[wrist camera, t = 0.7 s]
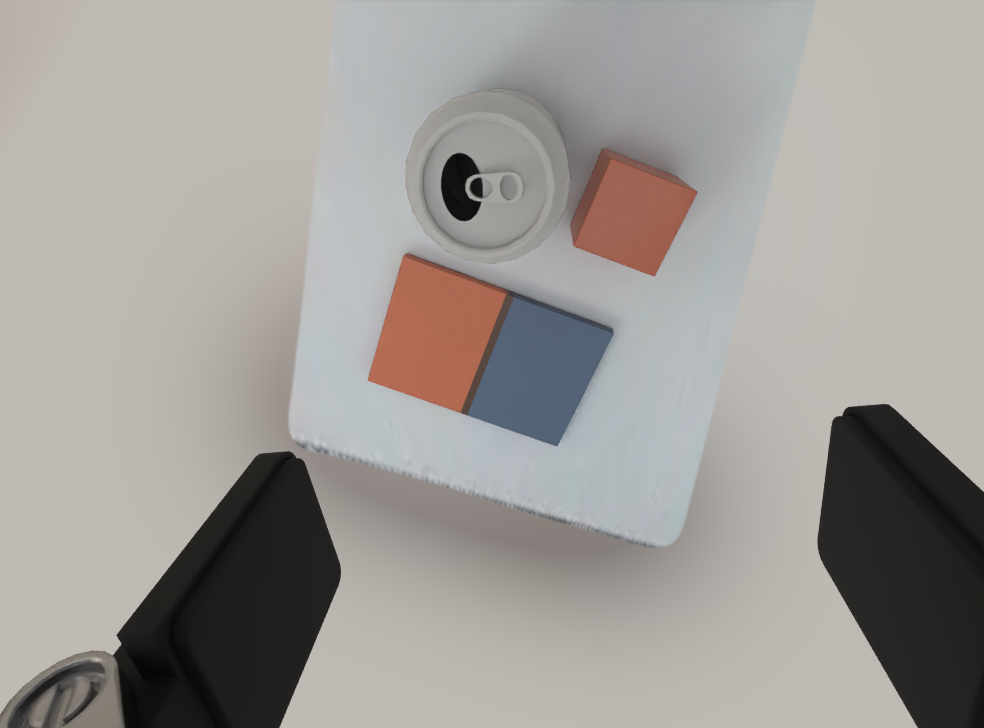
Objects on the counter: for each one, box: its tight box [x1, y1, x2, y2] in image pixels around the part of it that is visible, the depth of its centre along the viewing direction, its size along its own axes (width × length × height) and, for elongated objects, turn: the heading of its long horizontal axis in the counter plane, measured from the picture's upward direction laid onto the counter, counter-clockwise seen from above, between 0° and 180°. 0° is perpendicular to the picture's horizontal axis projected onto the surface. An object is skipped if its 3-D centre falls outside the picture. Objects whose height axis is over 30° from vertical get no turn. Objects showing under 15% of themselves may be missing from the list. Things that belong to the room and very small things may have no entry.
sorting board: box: [368, 254, 613, 446], centre depth 41 cm, size 10×15×1 cm, turn 71°
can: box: [406, 88, 570, 264], centre depth 30 cm, size 8×8×12 cm
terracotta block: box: [570, 148, 697, 276], centre depth 33 cm, size 5×5×5 cm
